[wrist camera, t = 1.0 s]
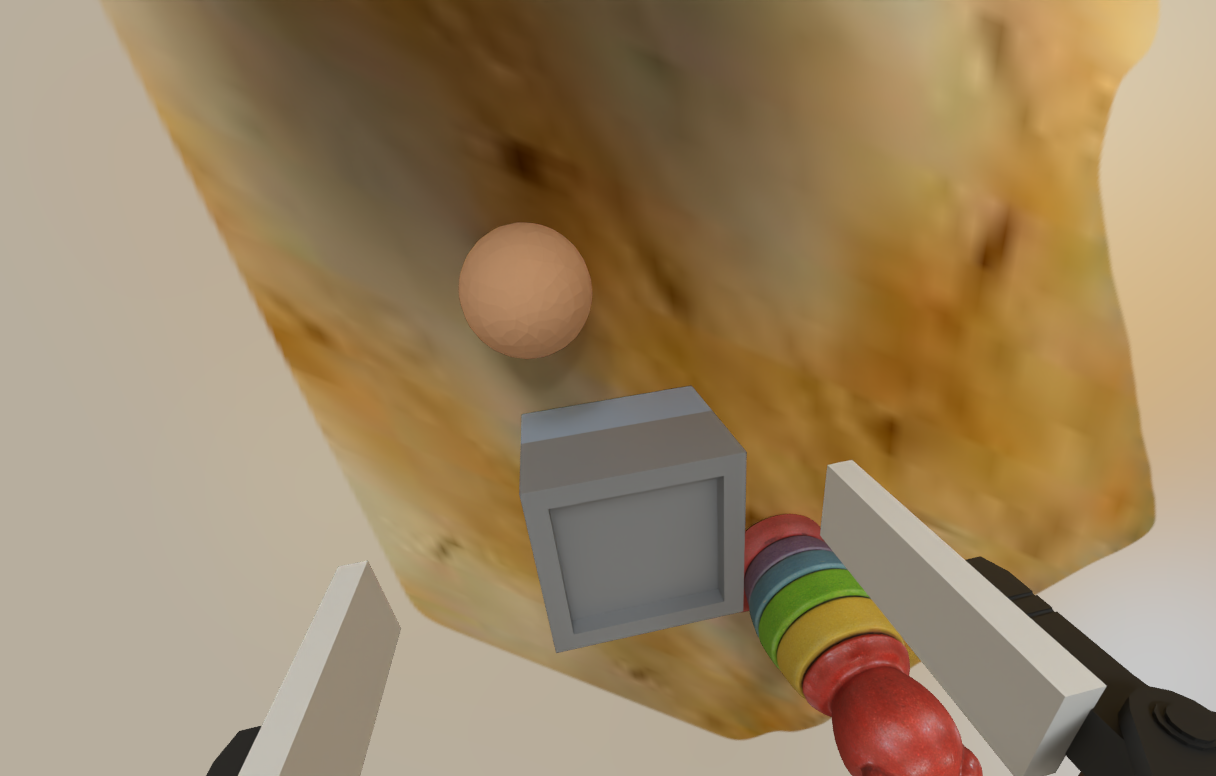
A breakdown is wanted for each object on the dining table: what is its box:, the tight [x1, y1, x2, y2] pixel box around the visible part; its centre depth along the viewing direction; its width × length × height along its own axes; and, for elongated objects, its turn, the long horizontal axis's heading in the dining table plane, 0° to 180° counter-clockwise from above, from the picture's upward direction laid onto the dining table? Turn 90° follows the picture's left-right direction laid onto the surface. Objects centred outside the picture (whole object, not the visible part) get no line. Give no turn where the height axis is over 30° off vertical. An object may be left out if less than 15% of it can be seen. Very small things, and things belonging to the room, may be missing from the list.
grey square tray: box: [519, 386, 747, 653], centre depth 30 cm, size 12×12×9 cm
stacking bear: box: [743, 514, 983, 776], centre depth 33 cm, size 11×10×18 cm
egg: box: [459, 222, 592, 359], centre depth 24 cm, size 7×7×9 cm
